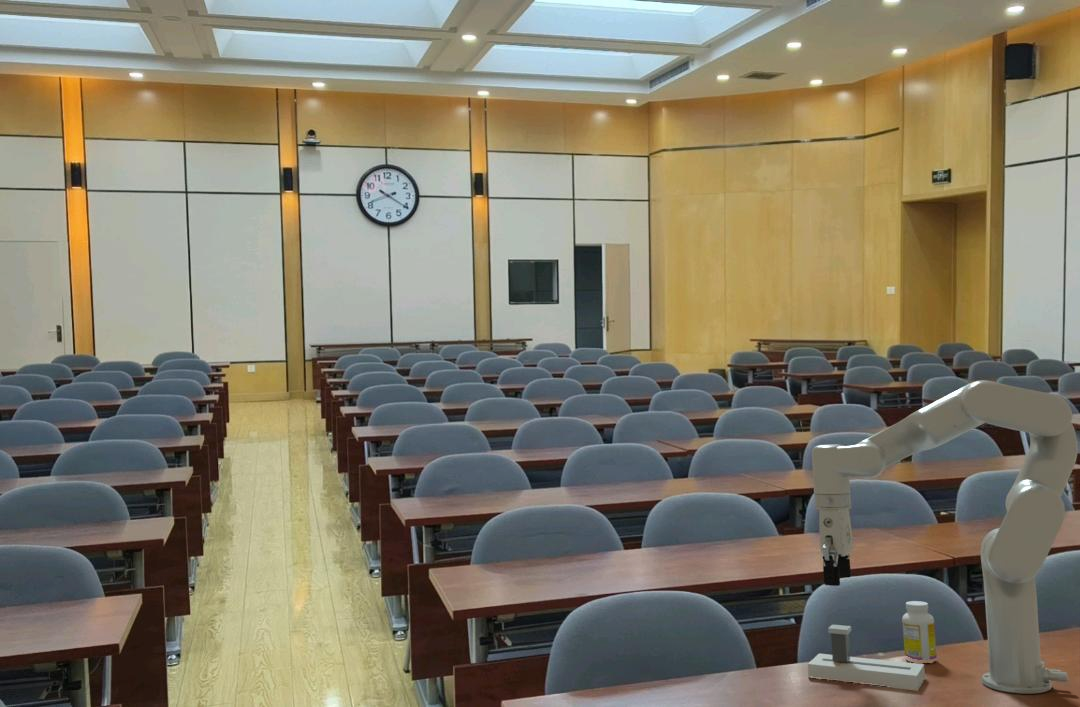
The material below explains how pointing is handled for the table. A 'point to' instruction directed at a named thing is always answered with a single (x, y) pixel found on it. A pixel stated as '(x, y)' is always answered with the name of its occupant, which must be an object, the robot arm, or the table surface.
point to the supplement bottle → (919, 632)
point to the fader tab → (840, 642)
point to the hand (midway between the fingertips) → (837, 581)
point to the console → (869, 671)
